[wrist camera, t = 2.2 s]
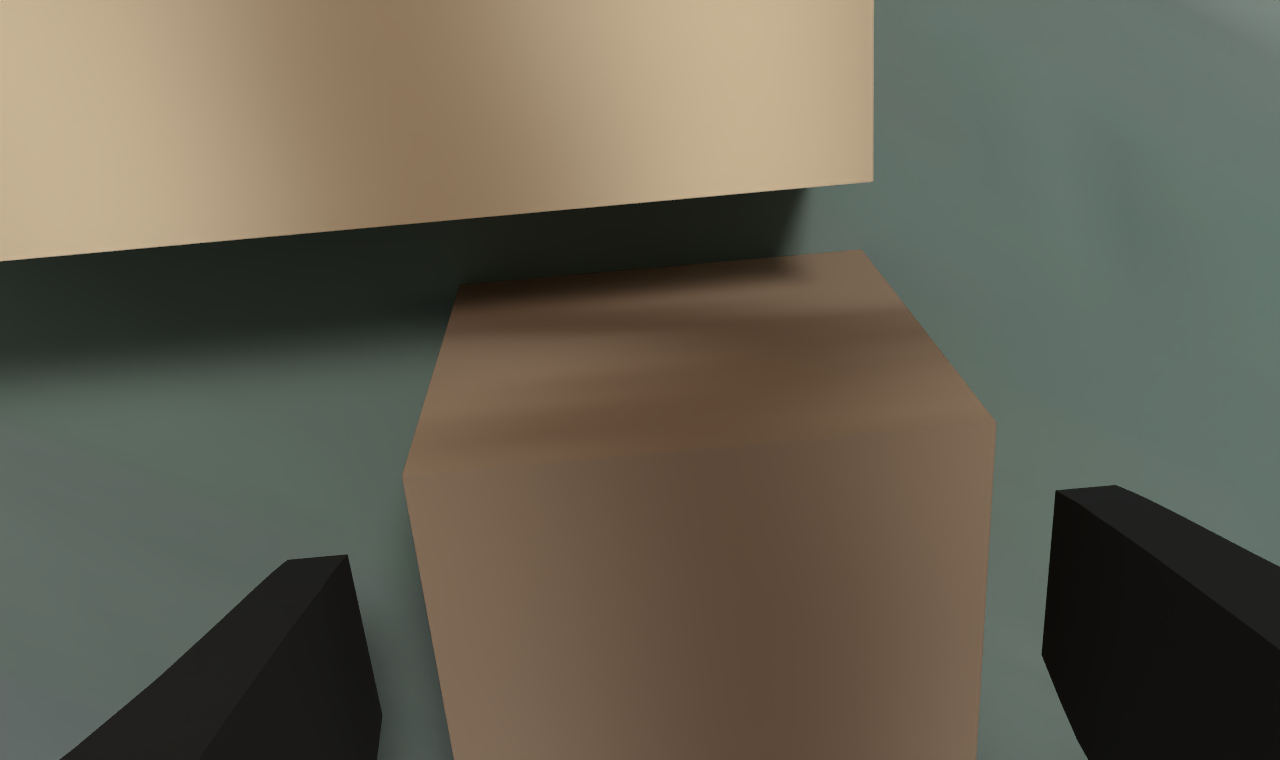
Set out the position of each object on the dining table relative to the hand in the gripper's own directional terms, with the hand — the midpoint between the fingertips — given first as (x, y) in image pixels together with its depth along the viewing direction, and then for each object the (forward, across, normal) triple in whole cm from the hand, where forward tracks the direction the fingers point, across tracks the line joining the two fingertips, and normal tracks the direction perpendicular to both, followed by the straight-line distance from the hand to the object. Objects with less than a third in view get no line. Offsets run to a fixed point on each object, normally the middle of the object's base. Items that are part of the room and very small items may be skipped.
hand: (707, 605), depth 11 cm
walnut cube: (+4, 0, 0) cm, 4 cm away
